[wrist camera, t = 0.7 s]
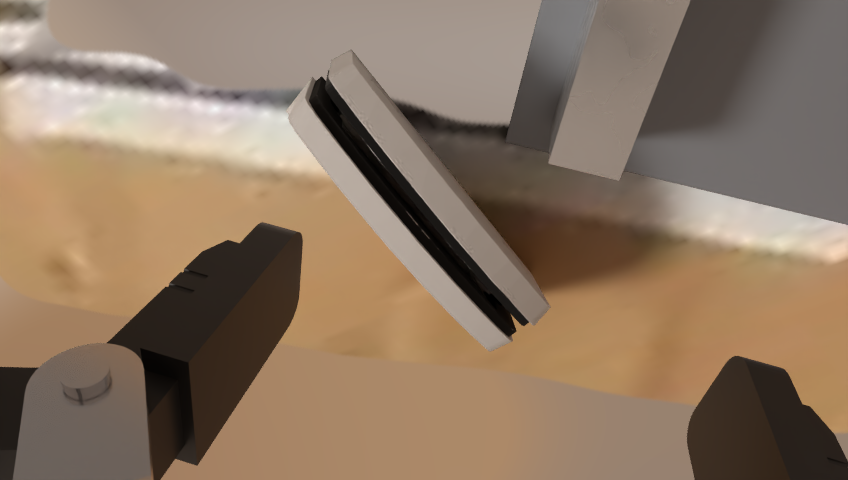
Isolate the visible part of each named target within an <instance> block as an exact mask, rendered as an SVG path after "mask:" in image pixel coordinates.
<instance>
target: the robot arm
mask: <svg viewBox="0 0 848 480" xmlns="http://www.w3.org/2000/svg"><path fill="white" fill-rule="evenodd" d="M302 244H303V240H302V235H301V233H299V232H296V231H292V230H289V229H285V228H282V227H278V226H274V225H271V224H267V223H263V222H262V223H260V224H258V225H257V226H256V227H255V228H254V229H253V230H252V231H251V232H250V233H249V234H248V235H247V236H246V237H245V238H244V240H243V241H242V242H241V243H236V242H233V241H229V240H227V241H225V242H222V243H220V244H218V245H216V246H214V247H211V248H209V249H207V250H205V251H203V252H201V253H200V254H199V255H198V256H197V257H196V258H195V259H194V260H193V261H192V262H191V263H190V264H189V265H188V266H187V267H186V268H185V269H184V272H183V273H182V272H180V273H179V274H178V275H177V276H176V277H175V278H174V279H173V280H172V281H171V282H170V284H169V287H165V288H164V289H163V290H162V291H161V292H160V293H159V294H158V295H157V296H155V297H154V298H153V299H152V300H151V301H150V302H149V303H148V304H147V305H146V306H145V307H144V308H143V309H142V310H141V311H140V312H139V313H138V314H137V315H136V316H135V317H134V318H133V319H131V320H130V322H128V323H127V324H126V325H125V326H124V327H123V328H122V329H121V330H120V331H119V332H118V333H117V334H116V335H115V336H114V337H113V338H112V339H111V340H110V341H108V342H107V343H96V344H87V345H82V346H78V347H75V348H72V349H69V350H66V351H64V352H62V353H59V354H58V355H56V356H54V357H52V358H51V359H49V360H48V361H46V362H45V363H44V364H42V365H41V366H40V367H39V368H19V367H0V480H160V479H161V478H162V477H163V475H164V473H165V472H166V471H167V469H168V468H169V467H170V465H171V464H172V462H173V461H174V460H175V459H178V460H182V461H185V462H187V463H191V464H194V465H198V464H199V462H200V460H201V459H202V458H203V456H204V455H205V453H206V452H207V450H208V449H209V447H210V446H211V444H212V442H213V441H214V439H215V438H216V436H217V435H218V433H219V432H220V430H221V429H222V427H223V426H224V424H225V423H226V421H227V420H228V418H229V416H230V415H231V414H232V412H233V411H234V409H235V408H236V406H237V404H238V403H239V401H240V400H241V398H242V397H243V395H244V394H245V392H246V391H247V389H248V388H249V386H250V385H251V383H252V382H253V380H254V379H255V377H256V376H257V374H258V373H259V371H260V369H261V368H262V366H263V365H264V363H265V362H266V360H267V359H268V357H269V356H270V354H271V353H272V351H273V350H274V348H275V347H276V345H277V344H278V342H279V341H280V339H281V338H282V336H283V335H284V333H285V332H286V330H287V328H288V327H289V325H290V323H291V321H292V319H293V317H294V314H295V311H296V308H297V304H298V300H299V290H300V275H301V260H302ZM687 444H688V450H689V455H690V459H691V464H692V469H693V473H694V478H695V480H848V461H847V459H846V457H845V455H844V453H843V451H842V449H841V447H840V445H839V443H838V441H837V439H836V436H835V435H834V433H833V432H832V431H831V430H830V429H829V428H828V427H827V425H826V424H825V423H824V422H823V421H822V420H821V419H820V417H819V416H818V415H817V414H816V413H815V412H814V411H813V409H812V408H811V407H810V406H806V405H803V404H802V403H801V400H800V398H799V396H798V394H797V392H796V389H795V387H794V385H793V383H792V381H791V379H790V376H789V375H788V373H787V372H786V371H785V370H784V369H783V368H780V367H776V366H772V365H769V364H765V363H762V362H758V361H754V360H751V359H747V358H744V357H740V356H734V357H732V358H731V359H729V360H728V361H727V363H726V364H725V365H724V367H723V368H722V370H721V371H720V373H719V374H718V376H717V377H716V379H715V380H714V382H713V383H712V385H711V386H710V388H709V389H708V391H707V392H706V394H705V395H704V397H703V398H702V400H701V401H700V403H699V404H698V406H697V407H696V409H695V410H694V412H693V414H692V416H691V419H690V422H689V426H688V433H687Z"/></svg>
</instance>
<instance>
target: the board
mask: <svg viewBox="0 0 848 480" xmlns="http://www.w3.org/2000/svg"><path fill="white" fill-rule="evenodd" d="M588 2H589V0H542V3H541V6H540V10H539V14H538V18H537V21H536V25H535V29H534V33H533V37H532V40H531V45H530V48H529V52H528V56H527V60H526V64H525V67H524V71H523V76H522V79H521V83H520V87H519V90H518V94H517V98H516V102H515V106H514V110H513V113H512V117H511V121H510V125H509V129H508V132H507V136H506V140H505V142H507V143H511V144H515V145H519V146H523V147H528V148H532V149H536V150H540V151H544V152H548V153H549V147H550V134H551V124H552V121H553V118H554V114H555V111H556V108H557V105H558V101H559V98H560V95H561V91H562V88H563V85H564V82H565V78H566V75H567V72H568V68H569V65H570V62H571V58H572V55H573V52H574V49H575V45H576V42H577V39H578V35H579V32H580V29H581V25H582V22H583V19H584V16H585V12H586V9H587V6H588ZM623 171H627V172H631V173H635V174H639V175H643V176H648V177H652V178H656V179H660V180H664V181H668V182H672V183H677V184H681V185H685V186H689V187H693V188H697V189H701V190H706V191H710V192H714V193H718V194H722V195H726V196H730V197H735V198H739V199H743V200H747V201H751V202H755V203H759V204H763V205H768V206H772V207H776V208H780V209H784V210H788V211H792V212H797V213H801V214H805V215H809V216H813V217H817V218H821V219H826V220H830V221H834V222H838V223H842V224H846V225H848V0H690V3H689V6H688V8H687V11H686V13H685V16H684V18H683V21H682V23H681V26H680V28H679V31H678V33H677V36H676V38H675V41H674V44H673V46H672V49H671V51H670V54H669V56H668V59H667V61H666V64H665V66H664V69H663V71H662V74H661V77H660V79H659V82H658V84H657V87H656V89H655V92H654V94H653V97H652V99H651V102H650V104H649V107H648V109H647V112H646V115H645V117H644V120H643V122H642V125H641V127H640V130H639V132H638V135H637V137H636V140H635V142H634V145H633V147H632V150H631V153H630V155H629V158H628V160H627V163H626V165H625V168H624V170H623Z"/></svg>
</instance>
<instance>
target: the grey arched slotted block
mask: <svg viewBox="0 0 848 480" xmlns="http://www.w3.org/2000/svg"><path fill="white" fill-rule="evenodd" d="M286 112H287V113H288V114H289V117H288V119H289V122H290V124H291V126H292V127H293V129H294V131H295V132H296V133H297V135H298V136H299V137H300V139H301V140H302V141H303V143H304V144H305V145H306V146H307V148H308V149H309V150H310V152H311V153H312V154H313V156H314V157H315V158H316V160H317V161H318V162H319V164H320V165H321V166H322V167H323V169H324V170H325V171H326V172H327V174H328V175H329V176H330V178H331V179H332V180H333V181H334V183H335V184H336V185H337V187H338V188H339V189H340V190H341V191H342V193H343V194H344V195H345V196H346V197H347V199H348V200H349V201H350V202H351V204H352V205H353V206H354V207H355V208H356V210H357V211H358V212H359V213H360V214H361V216H362V217H363V218H364V219H365V221H366V222H367V223H368V224H369V225H370V227H371V228H372V229H373V230H374V231H375V233H376V234H377V235H378V236H379V237H380V238H381V240H382V241H383V242H384V243H385V244H386V245H387V247H388V248H389V249H390V250H391V251H392V252H393V253H394V254H395V256H396V257H397V258H398V259H399V260H400V261H401V262H402V263H403V264H404V266H405V267H406V268H407V269H408V270H409V271H410V272H411V273H412V274H413V276H414V277H415V278H416V279H417V280H418V281H419V282H420V283H421V284H422V286H423V287H424V288H425V289H426V290H427V291H428V292H429V293H430V294H431V295H432V296H433V297H434V298H435V299H436V300H437V301H438V302H439V303H440V304H441V305H442V306H443V307H444V308H445V309H446V311H447V312H448V313H449V314H450V315H451V316H452V317H453V318H454V319H455V320H456V321H457V322H458V323H459V324H460V325H461V326H462V327H463V328H464V329H465V330H467V331H468V332H469V333H470V334H471V335H472V336H473V337H474V338H475V339H476V340H477V341H478V342H479V343H480V344H481V345H483V346H484V347H485V348H486V349H487V350H488V351H493V350H495V349H497V348H499V347H501V346H503V345H505V344H508V343H510V342H512V341H513V339H512V336H511V335H512V334H514V333H515V332H516V328H515V325H514V323H513V320H512V317H511V315H512V316H513V317H514V318H515V319H516V320H517V321H518V322H519V323H520V324H521V325H523V326H525V325H526V324H527V323H529V322H530V323H531V324H532V325H535V324H536V323H537V322H538V321H539V320H540V319H541V317H542V316H543V315H544V314H545V313H546V312H547V311H548V310H549V308H550V305H549V304H548V302H547V300H546V298H545V297H544V295H543V293H542V291H541V290H540V288H539V286H538V284H537V283H536V281H535V279H534V277H533V276H532V274H531V272H530V271H529V270H528V269H527V267H526V266H525V265H524V264H523V262H522V261H521V260H520V259H519V258H518V256H517V255H516V254H515V253H514V251H513V250H512V249H511V248H510V246H509V245H508V244H507V243H506V241H505V240H504V239H503V238H502V236H501V235H500V234H499V233H498V231H497V230H496V229H495V228H494V226H493V225H492V224H491V223H490V221H489V220H488V219H487V218H486V217H485V215H484V214H483V213H482V212H481V210H480V209H479V208H478V207H477V205H476V204H475V203H474V202H473V200H472V199H471V198H470V197H469V195H468V194H467V193H466V192H465V190H464V189H463V188H462V187H461V185H460V184H459V183H458V182H457V180H456V179H455V178H454V177H453V175H452V174H451V173H450V172H449V171H448V169H447V168H446V167H445V166H444V164H443V163H442V162H441V161H440V159H439V158H438V157H437V156H436V154H435V153H434V152H433V151H432V149H431V148H430V147H429V146H428V144H427V143H426V142H425V141H424V139H423V138H422V137H421V136H420V134H419V133H418V132H417V131H416V130H415V128H414V127H413V126H412V125H411V123H410V122H409V121H408V120H407V118H406V117H405V116H404V115H403V113H402V112H401V111H400V110H399V108H398V107H397V106H396V105H395V103H394V102H393V101H392V100H391V98H390V97H389V96H388V95H387V93H386V92H385V91H384V90H383V88H382V87H381V86H380V85H379V83H378V82H377V81H376V80H375V78H374V77H373V76H372V75H371V73H370V72H369V71H368V70H367V68H366V67H365V66H364V65H363V64H362V62H361V61H360V60H359V58H358V57H357V56H356V55H355V53H354V52H353V51H352V50H349V51H348V52H346V53H344V54H342V55H340V56H339V57H336V58H335V59H333V60H331V65H330V70H329V71H328V75H327V80H326V81H325V80H324V78H323V77H320V78H319V79H318V80H317V81H316V80H314V78H313V77H312V78H311V79H310V81H309V82H308V83H307V85H306V86H305V87H304V88H303V90H302V91H301V92H300V93H299V95H298V96H297V97H296V99H295V100H294V101H293V102H292V104H291V105H290V106H289V108H288V109H287V110H286Z"/></svg>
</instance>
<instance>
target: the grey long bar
mask: <svg viewBox="0 0 848 480" xmlns="http://www.w3.org/2000/svg"><path fill="white" fill-rule="evenodd" d="M689 3H690V0H589V2H588V6H587V9H586V12H585V16H584V19H583V22H582V25H581V29H580V32H579V35H578V39H577V42H576V45H575V49H574V52H573V55H572V58H571V62H570V65H569V68H568V72H567V75H566V78H565V82H564V85H563V88H562V91H561V95H560V98H559V101H558V105H557V108H556V111H555V114H554V118H553V121H552V124H551V134H550V147H549V160H548V164H551V165H556V166H560V167H564V168H568V169H572V170H576V171H580V172H584V173H588V174H593V175H597V176H601V177H605V178H609V179H613V180H617V181H619V180H620V178H621V175H622V173H623V170H624V168H625V165H626V163H627V160H628V158H629V155H630V153H631V150H632V147H633V145H634V142H635V140H636V137H637V135H638V132H639V130H640V127H641V125H642V122H643V120H644V117H645V115H646V112H647V109H648V107H649V104H650V102H651V99H652V97H653V94H654V92H655V89H656V87H657V84H658V82H659V79H660V77H661V74H662V71H663V69H664V66H665V64H666V61H667V59H668V56H669V54H670V51H671V49H672V46H673V44H674V41H675V38H676V36H677V33H678V31H679V28H680V26H681V23H682V21H683V18H684V16H685V13H686V11H687V8H688V6H689Z"/></svg>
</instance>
